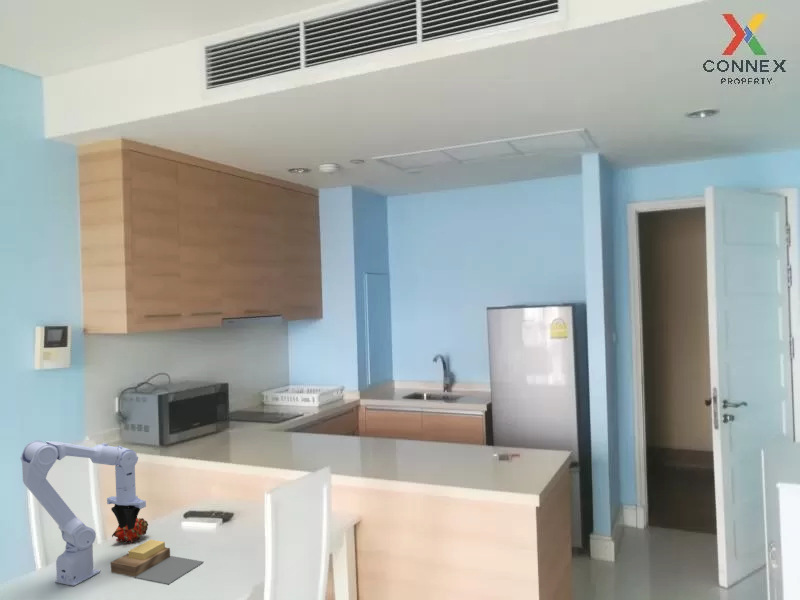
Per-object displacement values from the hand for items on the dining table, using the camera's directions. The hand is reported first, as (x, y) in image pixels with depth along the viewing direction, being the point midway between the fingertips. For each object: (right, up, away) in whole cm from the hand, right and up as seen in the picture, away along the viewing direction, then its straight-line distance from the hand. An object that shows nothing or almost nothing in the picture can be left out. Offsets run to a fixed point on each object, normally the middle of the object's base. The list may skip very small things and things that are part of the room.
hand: (127, 527), depth 192 cm
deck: (+7, -10, -5) cm, 13 cm away
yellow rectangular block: (+8, -7, -3) cm, 11 cm away
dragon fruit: (-5, -10, +14) cm, 18 cm away
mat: (+17, -10, -9) cm, 22 cm away
